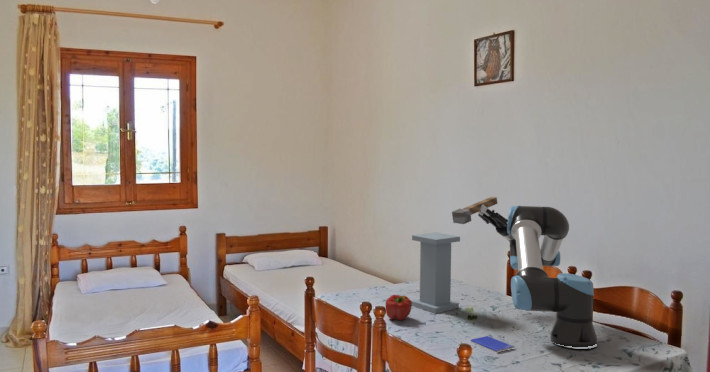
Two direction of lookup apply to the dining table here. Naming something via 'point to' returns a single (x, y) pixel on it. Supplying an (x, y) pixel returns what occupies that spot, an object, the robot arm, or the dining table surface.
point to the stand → (435, 272)
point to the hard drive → (491, 344)
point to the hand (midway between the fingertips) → (478, 206)
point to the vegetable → (398, 307)
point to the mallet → (471, 210)
